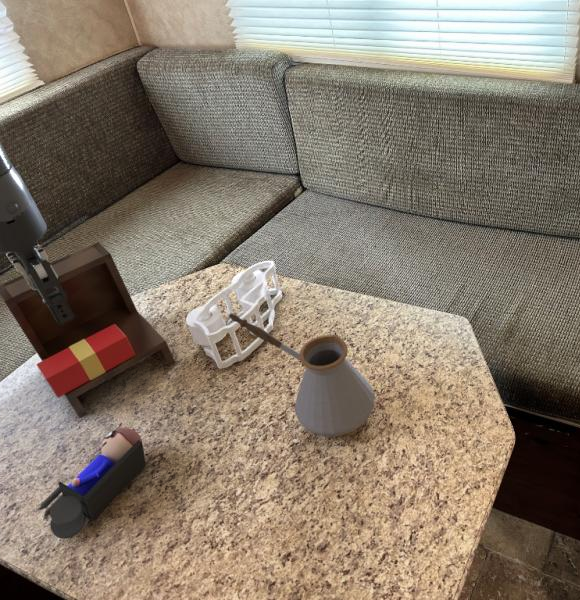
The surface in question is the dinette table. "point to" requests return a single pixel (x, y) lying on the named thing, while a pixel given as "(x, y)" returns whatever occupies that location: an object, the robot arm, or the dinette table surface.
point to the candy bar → (86, 360)
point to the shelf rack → (84, 313)
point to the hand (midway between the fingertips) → (56, 307)
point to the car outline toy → (251, 296)
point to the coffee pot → (325, 384)
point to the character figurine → (96, 483)
